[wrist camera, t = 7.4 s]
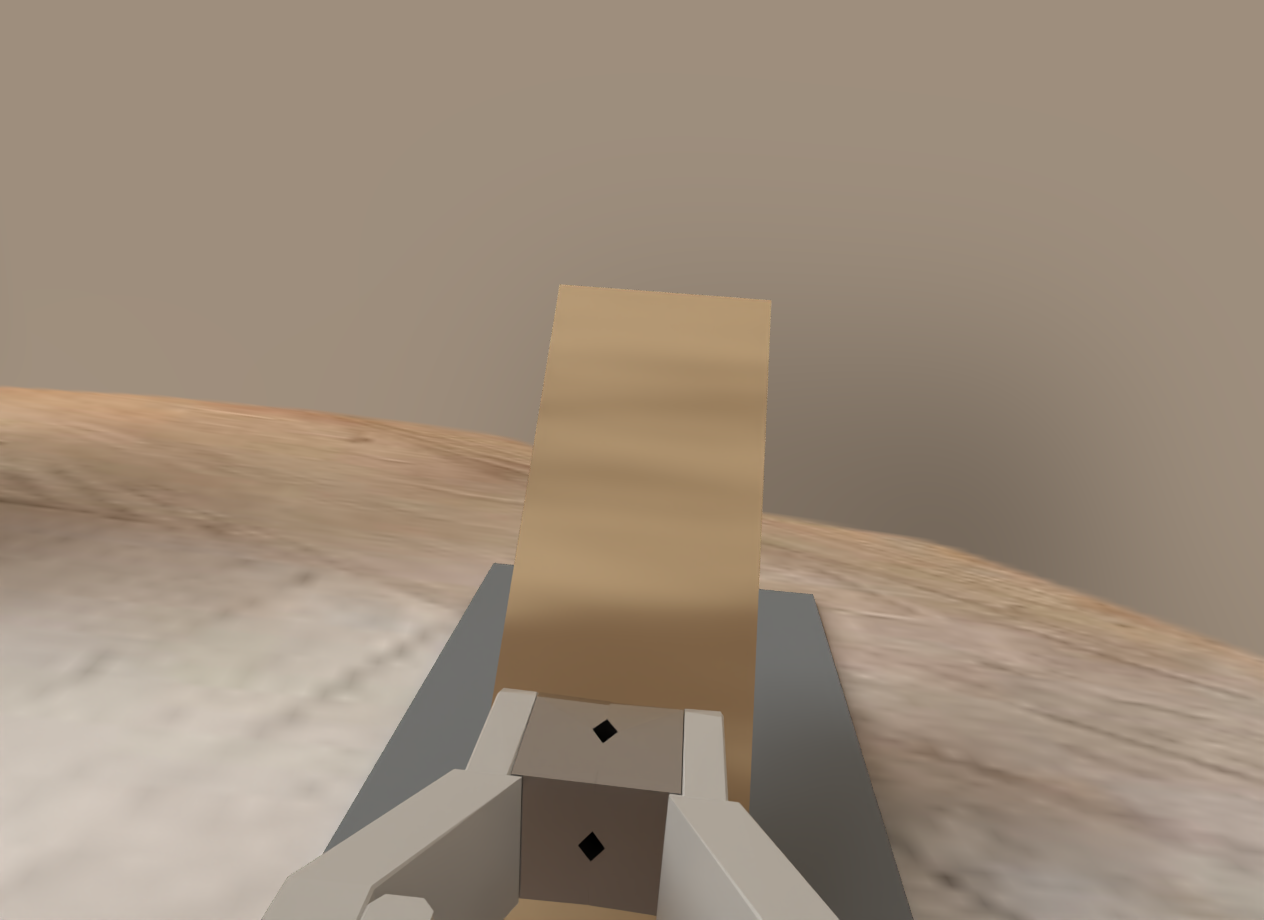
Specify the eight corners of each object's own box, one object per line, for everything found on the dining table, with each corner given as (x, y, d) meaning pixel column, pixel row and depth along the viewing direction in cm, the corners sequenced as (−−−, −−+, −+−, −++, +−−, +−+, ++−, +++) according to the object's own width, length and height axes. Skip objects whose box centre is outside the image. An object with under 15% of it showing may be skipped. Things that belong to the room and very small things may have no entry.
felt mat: (920, 963, 14) (923, 952, 14) (310, 886, 15) (310, 875, 15) (811, 601, 27) (812, 594, 27) (493, 570, 28) (493, 563, 28)
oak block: (737, 1091, 10) (771, 300, 14) (434, 1049, 10) (559, 284, 14) (712, 992, 13) (745, 394, 17) (494, 963, 14) (578, 380, 18)
